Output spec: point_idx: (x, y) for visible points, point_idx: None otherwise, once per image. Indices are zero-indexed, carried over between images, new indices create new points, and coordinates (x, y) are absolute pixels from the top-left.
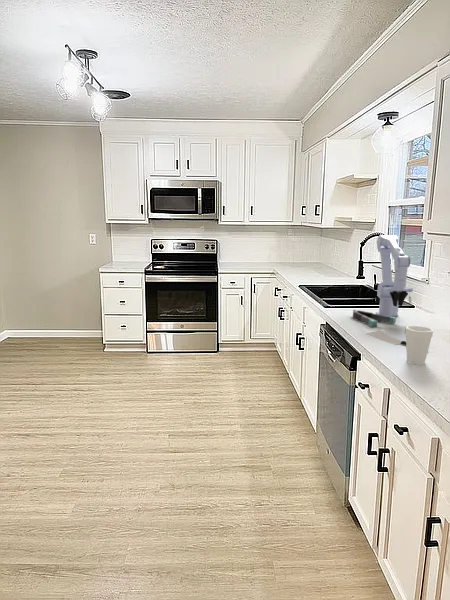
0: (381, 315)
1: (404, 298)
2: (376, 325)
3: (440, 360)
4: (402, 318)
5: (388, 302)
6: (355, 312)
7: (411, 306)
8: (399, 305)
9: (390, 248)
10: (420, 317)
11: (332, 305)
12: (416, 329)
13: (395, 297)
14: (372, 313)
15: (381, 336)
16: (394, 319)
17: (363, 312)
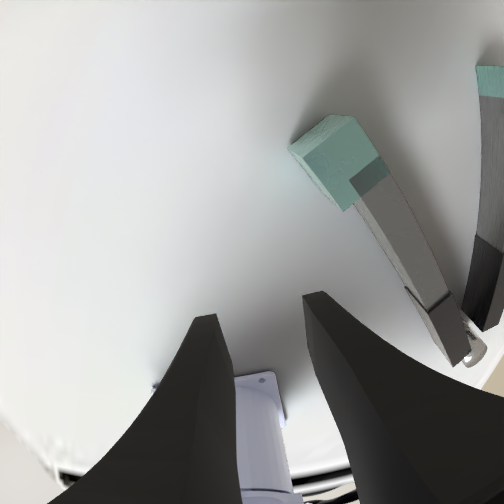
0: (410, 244)
1: (143, 431)
2: (486, 66)
3: None
4: (136, 340)
5: (247, 472)
6: (497, 318)
7: (68, 480)
8: (225, 344)
9: None
10: (22, 357)
11: None
12: None
13: (464, 385)
14: (436, 305)
15: None
16: (325, 132)
17: (463, 327)
